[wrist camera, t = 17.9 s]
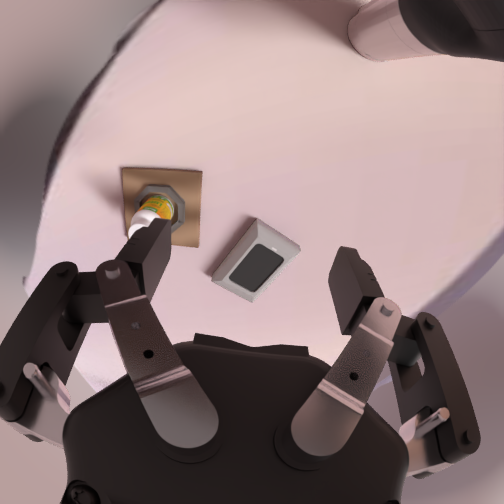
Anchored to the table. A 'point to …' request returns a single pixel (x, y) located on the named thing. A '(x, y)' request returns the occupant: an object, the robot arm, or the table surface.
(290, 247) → the grey flat boxy piece
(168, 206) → the supplement bottle
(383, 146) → the table surface
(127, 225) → the carrier plate
